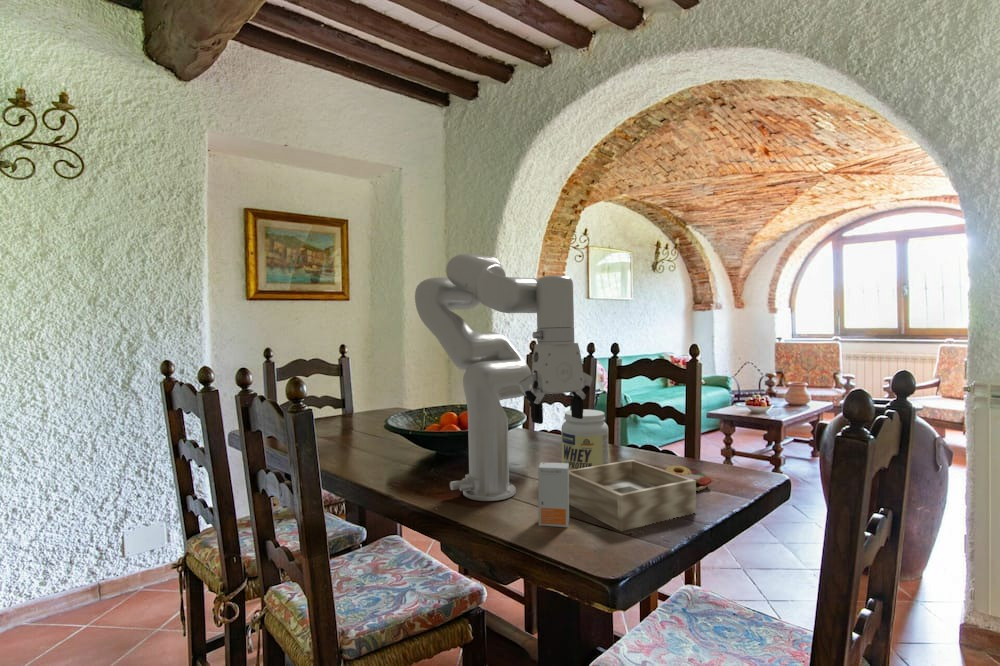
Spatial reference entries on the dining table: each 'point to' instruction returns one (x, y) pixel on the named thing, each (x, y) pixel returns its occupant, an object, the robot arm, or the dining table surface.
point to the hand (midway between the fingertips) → (557, 420)
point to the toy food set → (691, 476)
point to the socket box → (631, 494)
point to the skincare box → (553, 494)
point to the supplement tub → (585, 440)
